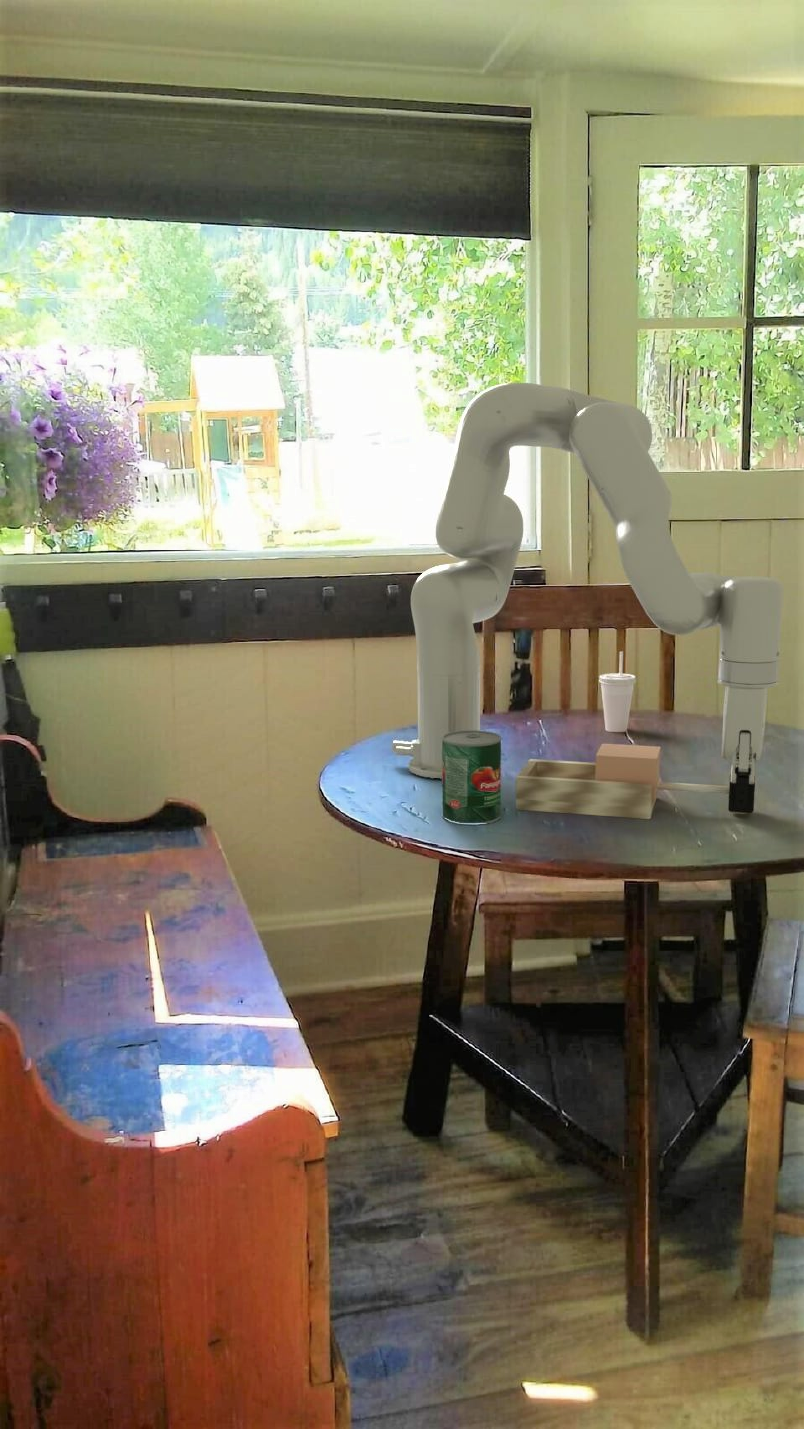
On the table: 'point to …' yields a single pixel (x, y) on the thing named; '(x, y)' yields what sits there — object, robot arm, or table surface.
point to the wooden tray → (579, 791)
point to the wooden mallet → (642, 769)
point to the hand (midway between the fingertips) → (740, 806)
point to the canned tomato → (471, 776)
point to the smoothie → (617, 698)
